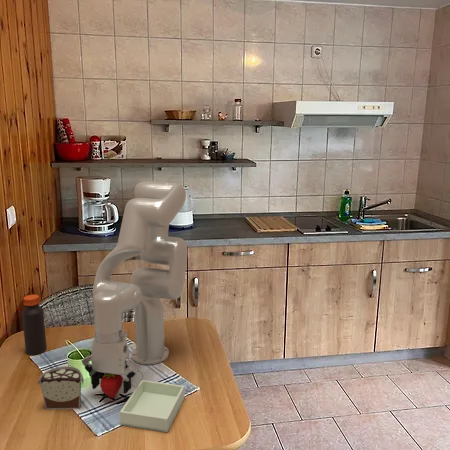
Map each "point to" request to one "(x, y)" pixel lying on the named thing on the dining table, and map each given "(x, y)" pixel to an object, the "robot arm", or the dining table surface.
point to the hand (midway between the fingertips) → (111, 388)
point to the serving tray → (153, 406)
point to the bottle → (33, 326)
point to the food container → (61, 388)
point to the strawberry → (111, 384)
